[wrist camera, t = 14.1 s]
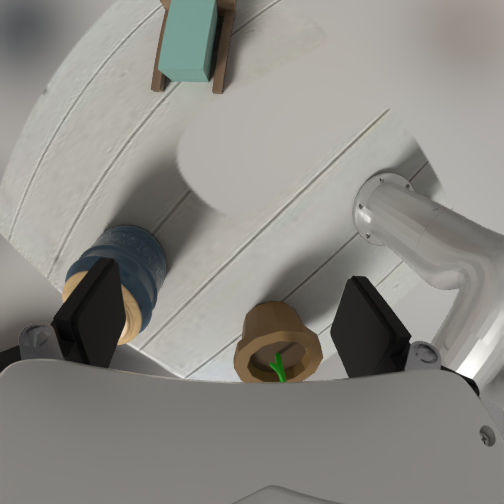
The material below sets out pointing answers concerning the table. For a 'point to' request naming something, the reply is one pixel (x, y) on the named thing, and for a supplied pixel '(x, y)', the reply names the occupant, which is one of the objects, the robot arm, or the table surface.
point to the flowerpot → (276, 346)
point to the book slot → (226, 10)
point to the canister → (127, 272)
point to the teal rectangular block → (189, 40)
